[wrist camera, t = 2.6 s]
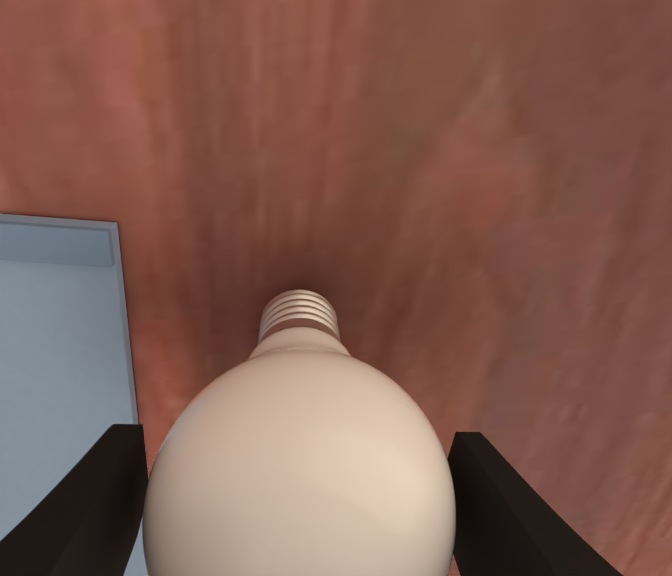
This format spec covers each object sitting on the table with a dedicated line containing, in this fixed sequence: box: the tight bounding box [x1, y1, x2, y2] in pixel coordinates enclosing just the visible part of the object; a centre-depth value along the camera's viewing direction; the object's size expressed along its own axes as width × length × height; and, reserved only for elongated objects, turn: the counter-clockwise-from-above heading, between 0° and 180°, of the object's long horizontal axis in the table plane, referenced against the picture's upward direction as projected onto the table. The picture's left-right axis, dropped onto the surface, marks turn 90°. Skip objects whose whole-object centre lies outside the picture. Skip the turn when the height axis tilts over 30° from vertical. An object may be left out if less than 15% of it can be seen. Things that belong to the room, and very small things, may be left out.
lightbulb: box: [142, 289, 456, 576], centre depth 12 cm, size 6×6×11 cm
